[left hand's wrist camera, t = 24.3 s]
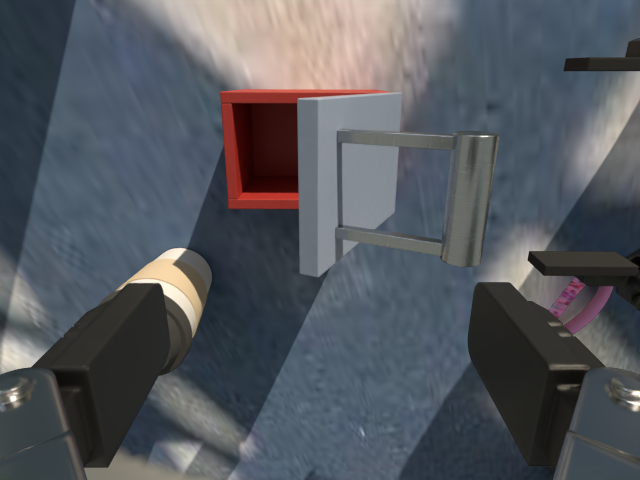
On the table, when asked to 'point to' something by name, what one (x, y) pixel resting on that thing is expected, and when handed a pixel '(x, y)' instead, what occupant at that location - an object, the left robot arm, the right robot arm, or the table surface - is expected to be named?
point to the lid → (381, 181)
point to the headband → (588, 311)
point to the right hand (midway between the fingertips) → (553, 172)
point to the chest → (265, 145)
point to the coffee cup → (177, 296)
